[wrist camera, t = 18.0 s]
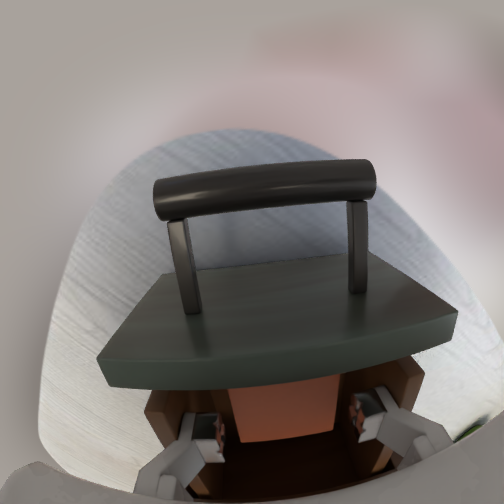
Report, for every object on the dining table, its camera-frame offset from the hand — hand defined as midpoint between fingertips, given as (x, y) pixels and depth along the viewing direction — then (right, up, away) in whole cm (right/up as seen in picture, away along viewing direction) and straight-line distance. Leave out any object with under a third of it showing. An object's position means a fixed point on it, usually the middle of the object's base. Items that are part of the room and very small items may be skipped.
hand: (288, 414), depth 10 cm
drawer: (0, +2, +6) cm, 6 cm away
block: (0, +1, +5) cm, 5 cm away
